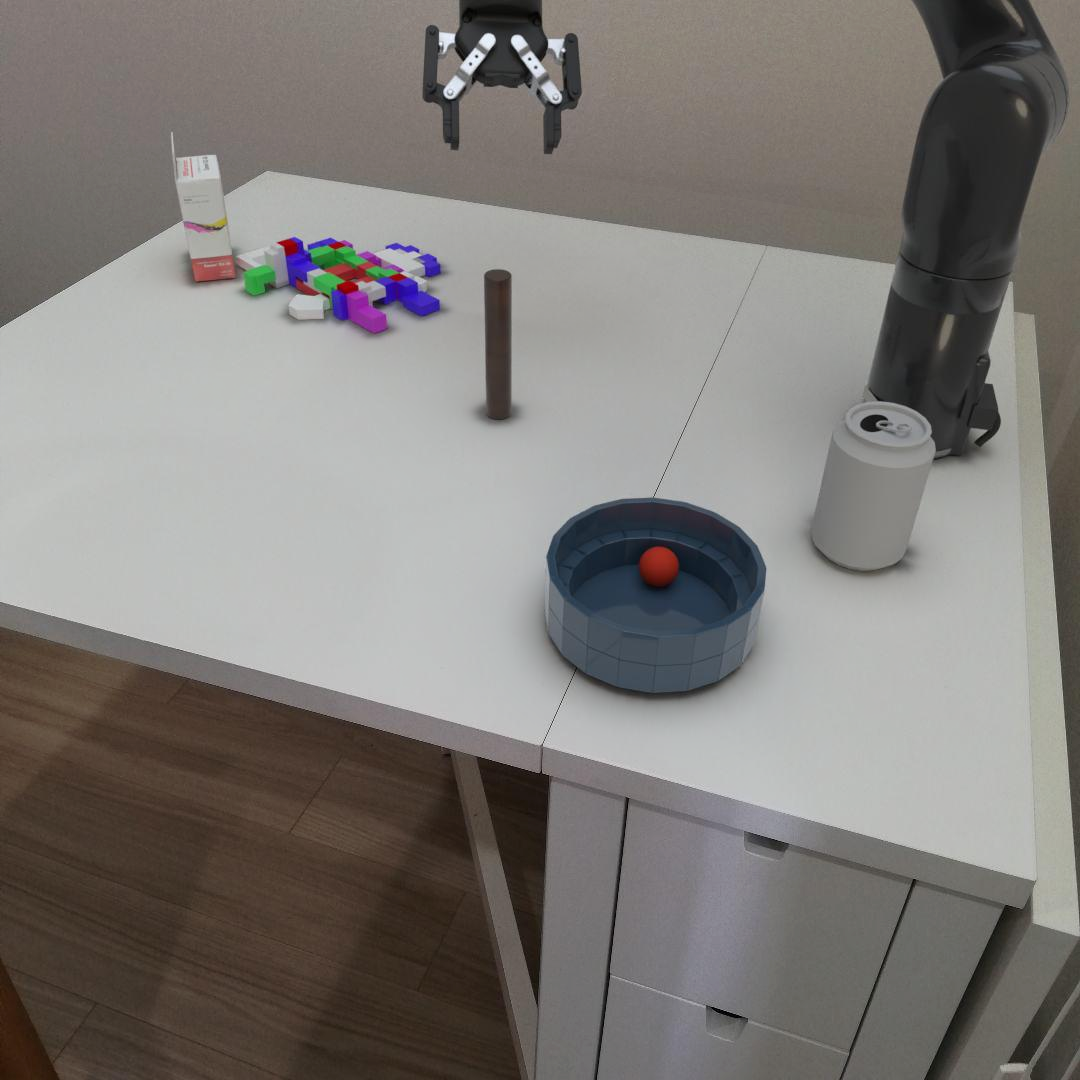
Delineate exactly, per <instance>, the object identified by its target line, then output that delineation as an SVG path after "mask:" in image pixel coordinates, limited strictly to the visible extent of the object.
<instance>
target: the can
mask: <svg viewBox="0 0 1080 1080" xmlns="http://www.w3.org/2000/svg"><path fill="white" fill-rule="evenodd" d="M931 434H932V430H931V425H930V424H929V422H928V421H927V419H926V418H925V417H924V416H922V415H921V414H919V413H918V412H917V411H915V410H913V409H910V408H908V407H906V406H903V405H899V404H895V403H890V402H882V401H876V402H865V403H863V402H862V403H857V404H855V405H853V406H852V407H850V408H848V410H847V411H846V413H845V414H844V418H843V419H841V420H840V421H838V422H837V423H836V425H835V426H834V427H833V429H832V433H831V437H830V442H829V446H828V451H827V455H826V460H825V464H824V470H823V473H822V478H821V483H820V487H819V492H818V496H817V500H816V504H815V510H814V513H813V518H812V522H811V523H812V524H811V527H810V538H811V539H812V541H813V544H814V546H815V547H816V548H817V549H818V550H819V551H820V552H821V553H822V554H823V555H824V556H825V557H826V558H827V559H828V560H829V561H831V562H832V563H834V564H836V565H838V566H840V567H843V568H846V569H848V570H853V571H859V572H860V571H861V572H868V571H869V572H870V571H877V570H880V569H883V568H884V569H885V568H886V567H889V566H893V565H895V564H896V563H897V562H899V561H901V560H902V559H903V558H904V556H905V554H906V552H907V549H908V546H909V543H910V539H911V535H912V531H913V528H914V526H915V523H916V519H917V515H918V512H919V509H920V505H921V502H922V499H923V495H924V492H925V488H926V485H927V481H928V478H929V475H930V471H931V468H932V465H933V461H934V459H935V458H934V455H935V452H936V448H935V442H934V441H933V439H932V438H931V436H930V435H931Z"/></svg>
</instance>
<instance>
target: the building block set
mask: <svg viewBox="0 0 1080 1080" xmlns="http://www.w3.org/2000/svg"><path fill="white" fill-rule="evenodd" d="M306 246H307V250H306V249H305V247H304V241H303V240H301V238H298V237H296V236H292V237H289V238H285V239H283V240H279V241H277V242H273V243H270V244H269V246H268V245H267V246H265V247H262V248H258V249H256V250H252V251H249V252H246V253H242V254H238V255H236V258H235V259H236V264H237V266H238V267H240V268H242V269H243V270H245V271H244V272H243V281H244V286H245V287H244V288H245V292H247V293H249V294H250V295H252V296H258V295H261V294H263V293H266V288H265V284H269V285H271V286H272V287H274V288H275V289H279V288H281V287H286V286H288V285H290V286H292V287H294V288H295V289H297V290H299V291H301V292H302V293H304V294H299V293H297V294H296V295H295V296H294V297H293V299H292V300H291V301H290V302H289V304H288V306H287V307H288V313H289V315H290V316H291V317H293V318H295V319H296V320H298V321H299V320H324V319H325V311H327V310H330V309H331V310H332V314H333V317H335V318H337V319H338V320H340V321H345V320H349V321H352V322H353V323H355V324H356V325H358V326H360V327H362V328H364V329H365V330H367V331H369V332H370V333H372V334H377V333H380V332H382V331H385V330H387V329H388V323H387V322H388V319H387V314H386V313H385V312H383V311H381V310H379V309H377V308H376V307H374V303H373V302H374V301H378V302H380V303H381V304H384V305H388V304H390V303H393V302H396V301H398V302H400V303H401V304H402V307H404V308H405V309H407V310H408V311H411V312H413V313H414V314H416V315H418V316H420V317H423V316H426V315H429V314H431V313H434V312H437V311H440V310H441V302H440V301H441V300H440V299H438V298H437V297H435V296H433V295H431V294H429V293H428V292H427V290H428V285H427V284H428V281H427V280H426V279H424V278H422V277H423V276H426V277H429V278H431V277H434V276H436V275H439V274H441V273H442V272H441V263H439V262H438V258H437V257H436V256H434V255H432V254H430V253H425V254H421V253H420V248H418V247H416V246H413V245H412V244H409V245H407V246H405V245H402V244H400V243H398V242H394V243H391V244H388V245H385V249H383V250H380V251H377V252H374V253H372V252H370V251H369V250H367V251H363V252H360V253H357V252H356V249H354V244H353V243H351V242H350V241H347V240H345V239H343V240H340V241H338V240H336V239H335V238H333V237H328V238H325V239H321V240H319V241H315V242H312V243H309V244H306ZM356 253H357V254H356ZM353 279H356V280H353ZM351 280H353V281H351Z"/></svg>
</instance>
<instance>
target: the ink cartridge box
mask: <svg viewBox="0 0 1080 1080" xmlns="http://www.w3.org/2000/svg"><path fill="white" fill-rule="evenodd" d="M170 142H171V157H172V164H173V175H174V182H175V188H176V193H177V198H178V203H179V208H180V213H181V218H182V223H183V227H184V234H185V238H186V244H187V248H188V252H189V258H190V262H191V268H192V272H193V277H194V281H195V282H204V281H215V280H223V279H224V280H225V279H236V278H237V274H236V268H235V262H234V256H233V249H232V243H231V235H230V229H229V222H228V214H227V209H226V202H225V195H224V190H223V189H224V187H223V181H222V176H221V171H220V166H219V162H218V157H217V155H216V154H205V155H195V156H194V155H192V156H183V157H176V155H175V144H174V134H173V131H171V132H170Z"/></svg>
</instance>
